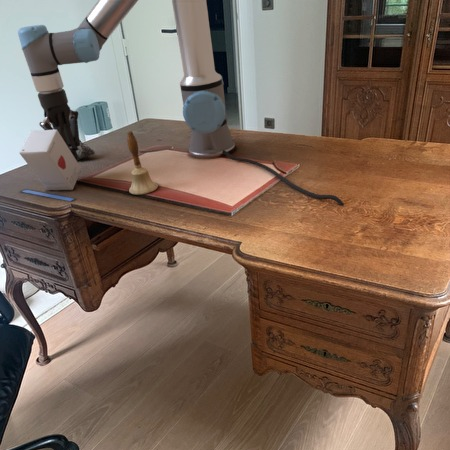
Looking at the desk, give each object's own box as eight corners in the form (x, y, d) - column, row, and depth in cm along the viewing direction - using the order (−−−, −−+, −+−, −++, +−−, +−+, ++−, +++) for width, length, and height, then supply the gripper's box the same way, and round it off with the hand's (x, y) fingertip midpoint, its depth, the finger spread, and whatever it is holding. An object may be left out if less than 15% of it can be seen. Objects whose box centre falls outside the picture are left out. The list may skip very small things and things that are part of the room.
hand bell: (130, 197, 121) (116, 138, 112) (127, 186, 128) (113, 130, 119) (160, 191, 123) (148, 132, 113) (155, 181, 129) (144, 125, 120)
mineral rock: (98, 158, 154) (90, 128, 148) (71, 168, 148) (62, 137, 142) (78, 153, 161) (70, 124, 156) (52, 162, 155) (42, 133, 150)
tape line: (74, 199, 125) (74, 198, 125) (70, 201, 124) (70, 200, 124) (25, 190, 135) (25, 189, 135) (21, 192, 134) (21, 191, 134)
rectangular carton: (73, 190, 130) (46, 152, 118) (47, 190, 133) (17, 153, 120) (82, 168, 135) (57, 128, 122) (57, 168, 137) (29, 129, 124)
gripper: (59, 84, 129) (82, 163, 143) (23, 96, 120) (52, 178, 135) (76, 85, 125) (99, 166, 139) (41, 96, 117) (68, 181, 131)
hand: (76, 172), depth 137 cm, fingers closed
